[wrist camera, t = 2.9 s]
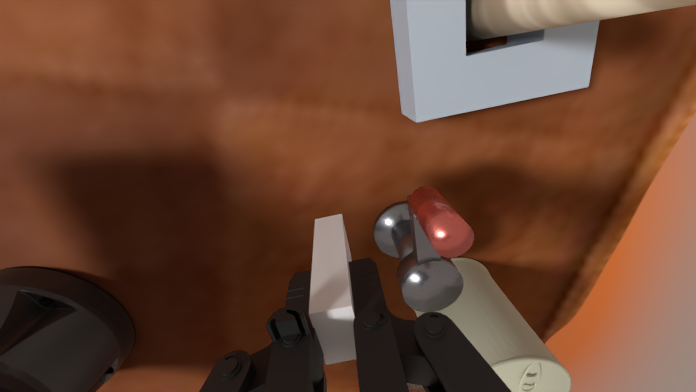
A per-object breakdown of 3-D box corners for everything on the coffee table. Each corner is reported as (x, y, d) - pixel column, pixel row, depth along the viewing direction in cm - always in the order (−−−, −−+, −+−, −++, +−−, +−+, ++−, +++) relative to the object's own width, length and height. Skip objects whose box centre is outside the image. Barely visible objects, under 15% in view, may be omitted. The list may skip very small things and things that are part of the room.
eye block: (401, 113, 23) (416, 122, 19) (381, -78, 18) (396, -113, 14) (546, 83, 23) (588, 86, 19) (568, -117, 18) (630, -164, 14)
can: (503, 260, 30) (602, 368, 20) (473, 322, 34) (543, 441, 23) (421, 253, 29) (480, 363, 18) (400, 318, 33) (438, 442, 22)
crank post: (377, 259, 29) (390, 303, 24) (368, 208, 27) (380, 245, 21) (435, 247, 29) (461, 289, 24) (431, 195, 26) (459, 229, 21)
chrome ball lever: (399, 297, 23) (423, 369, 18) (382, 184, 19) (407, 232, 13) (452, 286, 23) (492, 355, 18) (448, 170, 19) (499, 213, 13)
